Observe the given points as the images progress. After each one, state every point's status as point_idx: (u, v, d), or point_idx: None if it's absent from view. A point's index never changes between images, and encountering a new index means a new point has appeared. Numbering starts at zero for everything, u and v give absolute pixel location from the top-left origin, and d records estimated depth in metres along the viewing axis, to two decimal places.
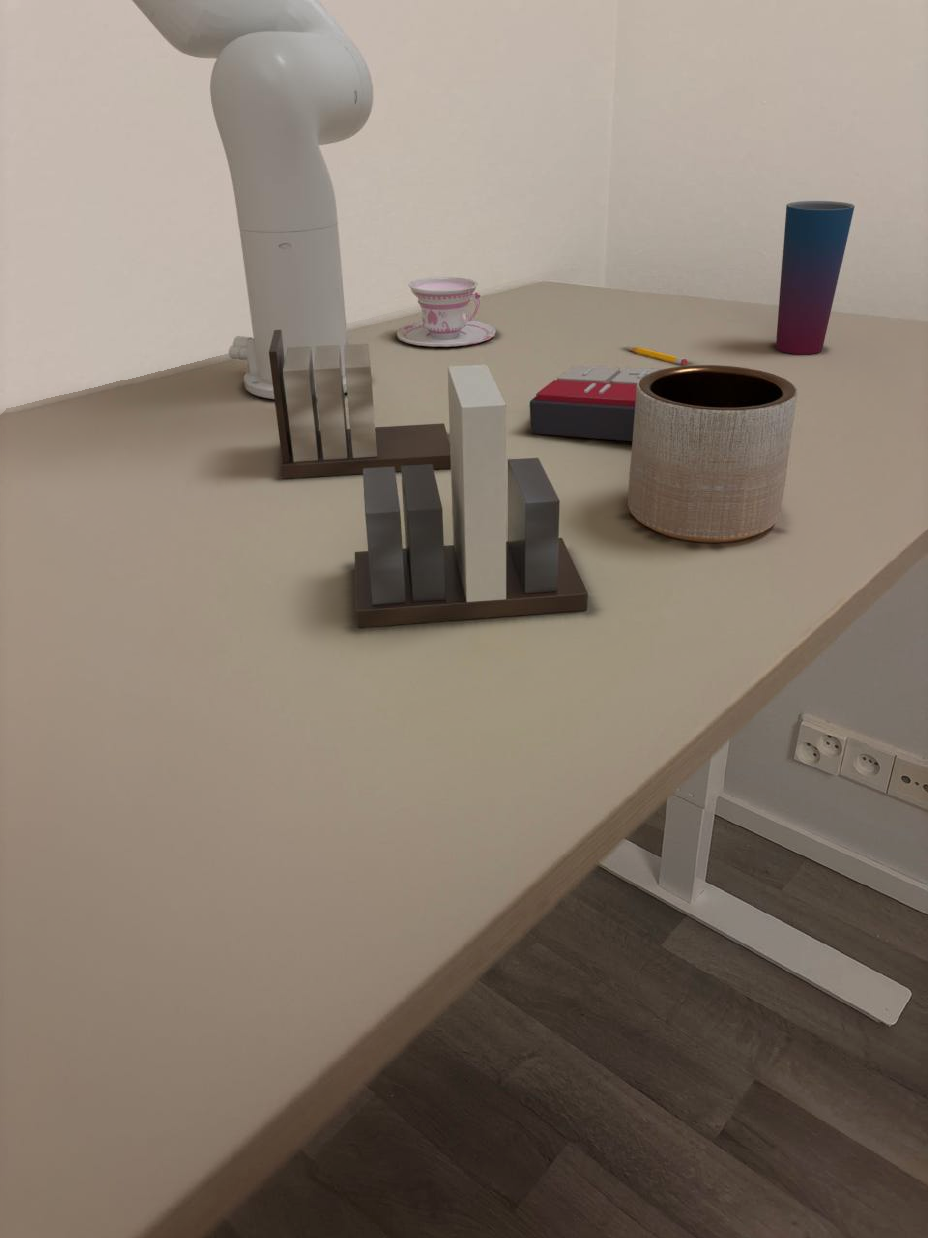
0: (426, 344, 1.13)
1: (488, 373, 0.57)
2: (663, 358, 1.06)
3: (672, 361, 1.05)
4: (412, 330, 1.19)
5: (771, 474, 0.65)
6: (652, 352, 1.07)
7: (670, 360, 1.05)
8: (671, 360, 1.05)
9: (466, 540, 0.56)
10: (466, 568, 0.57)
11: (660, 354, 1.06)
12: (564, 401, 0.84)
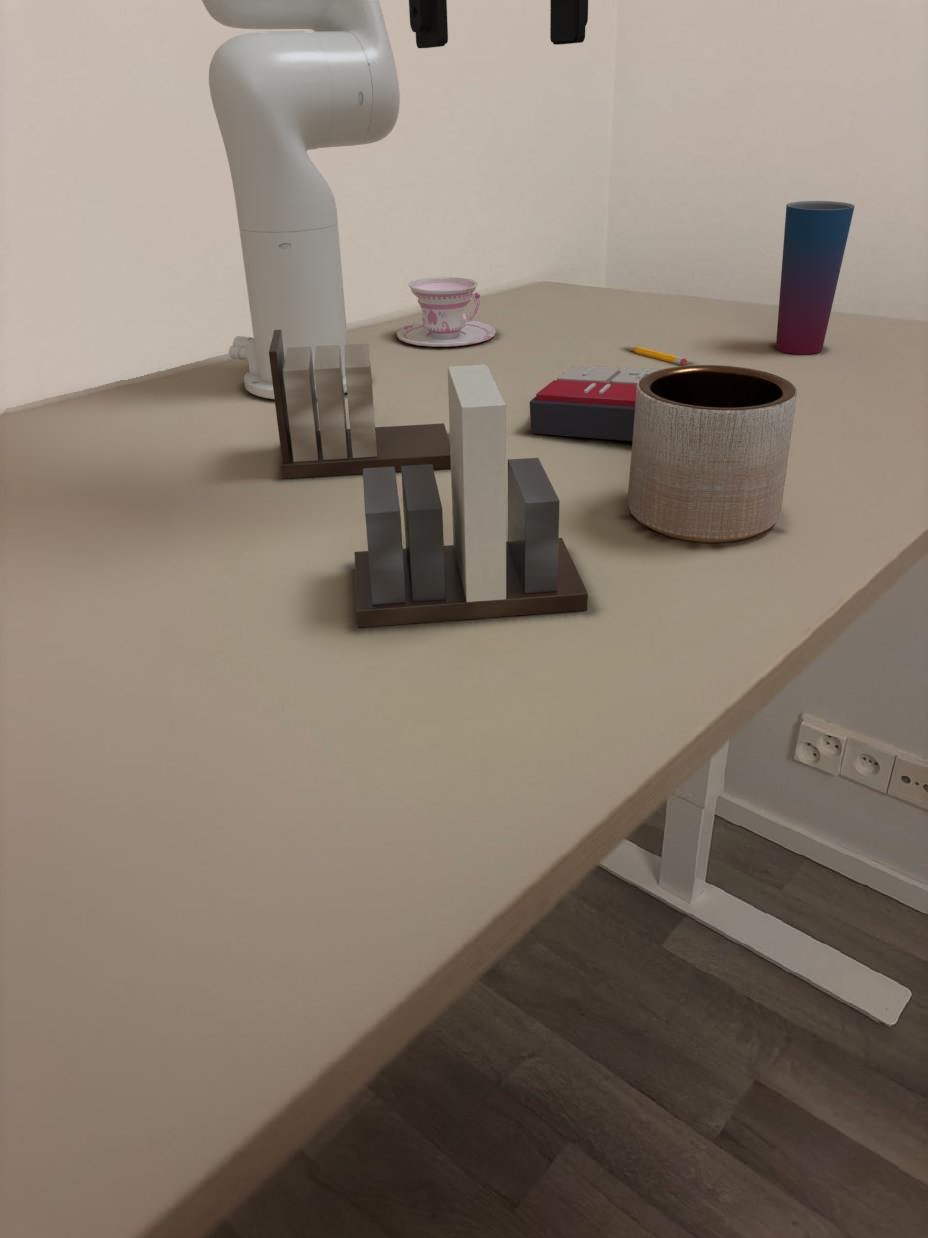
0: (426, 344, 1.13)
1: (488, 373, 0.57)
2: (663, 358, 1.06)
3: (672, 361, 1.05)
4: (412, 330, 1.19)
5: (771, 474, 0.65)
6: (652, 352, 1.07)
7: (670, 360, 1.05)
8: (671, 360, 1.05)
9: (466, 540, 0.56)
10: (466, 568, 0.57)
11: (660, 354, 1.06)
12: (564, 401, 0.84)
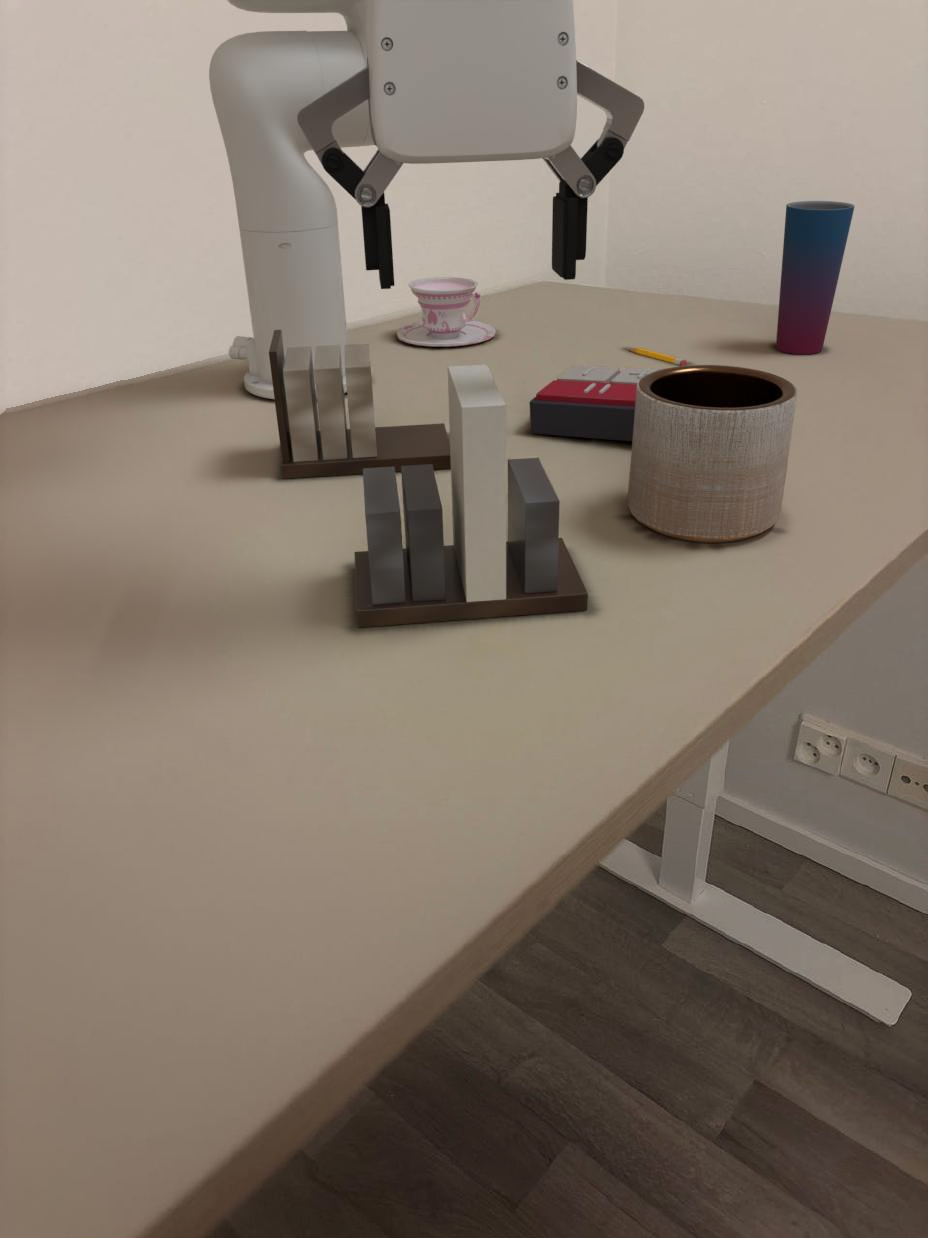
0: (426, 344, 1.13)
1: (488, 373, 0.57)
2: (662, 359, 1.06)
3: (671, 362, 1.05)
4: (412, 330, 1.19)
5: (771, 474, 0.65)
6: (652, 353, 1.07)
7: (669, 361, 1.05)
8: (670, 361, 1.05)
9: (466, 540, 0.56)
10: (466, 568, 0.57)
11: (659, 355, 1.06)
12: (564, 401, 0.84)
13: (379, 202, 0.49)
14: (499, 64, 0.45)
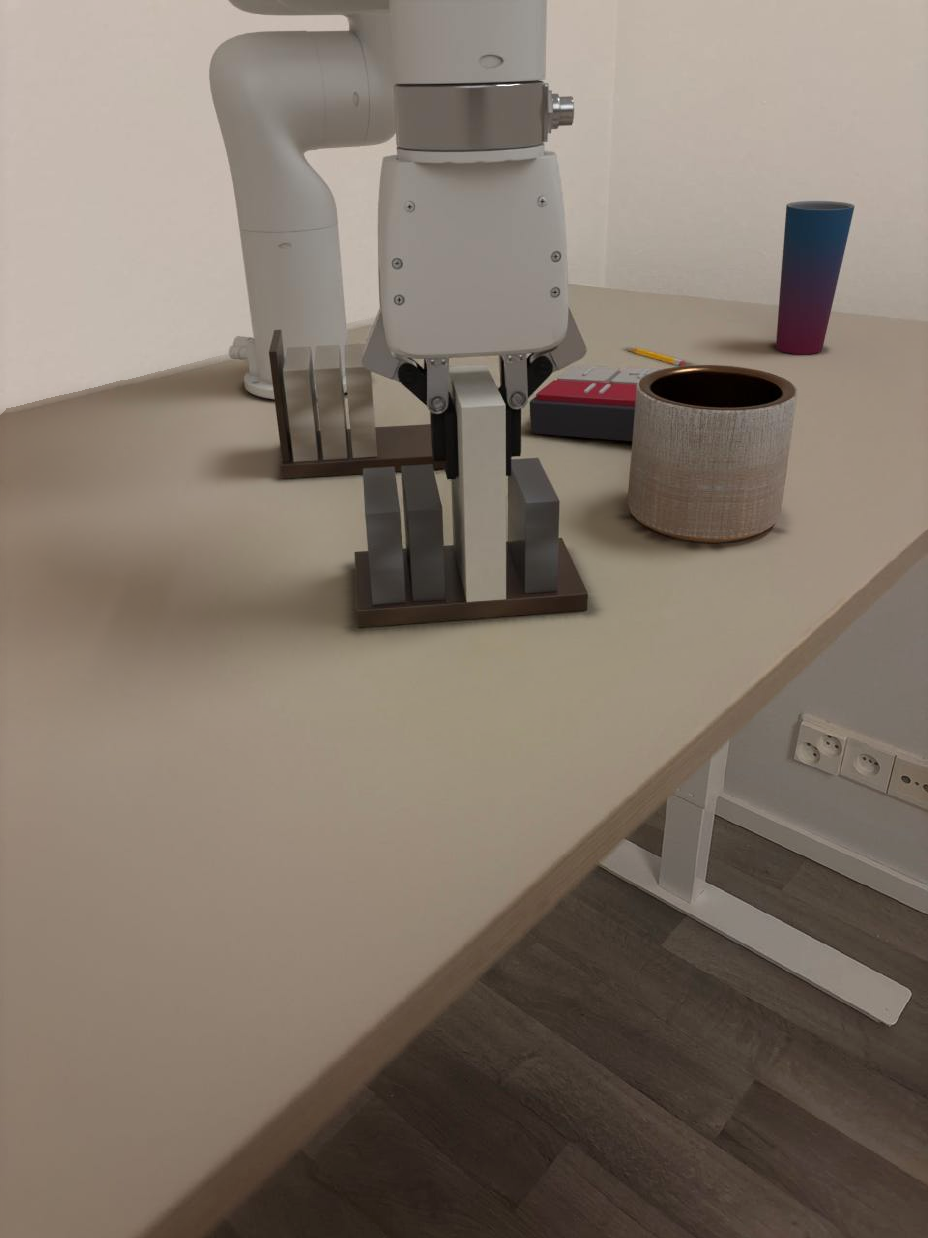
0: None
1: (488, 373, 0.57)
2: (662, 360, 1.06)
3: (670, 362, 1.05)
4: None
5: (771, 474, 0.65)
6: (651, 353, 1.07)
7: (668, 362, 1.05)
8: (669, 362, 1.05)
9: (466, 540, 0.56)
10: (466, 568, 0.57)
11: (659, 356, 1.06)
12: (564, 401, 0.84)
13: (448, 408, 0.55)
14: (498, 279, 0.50)
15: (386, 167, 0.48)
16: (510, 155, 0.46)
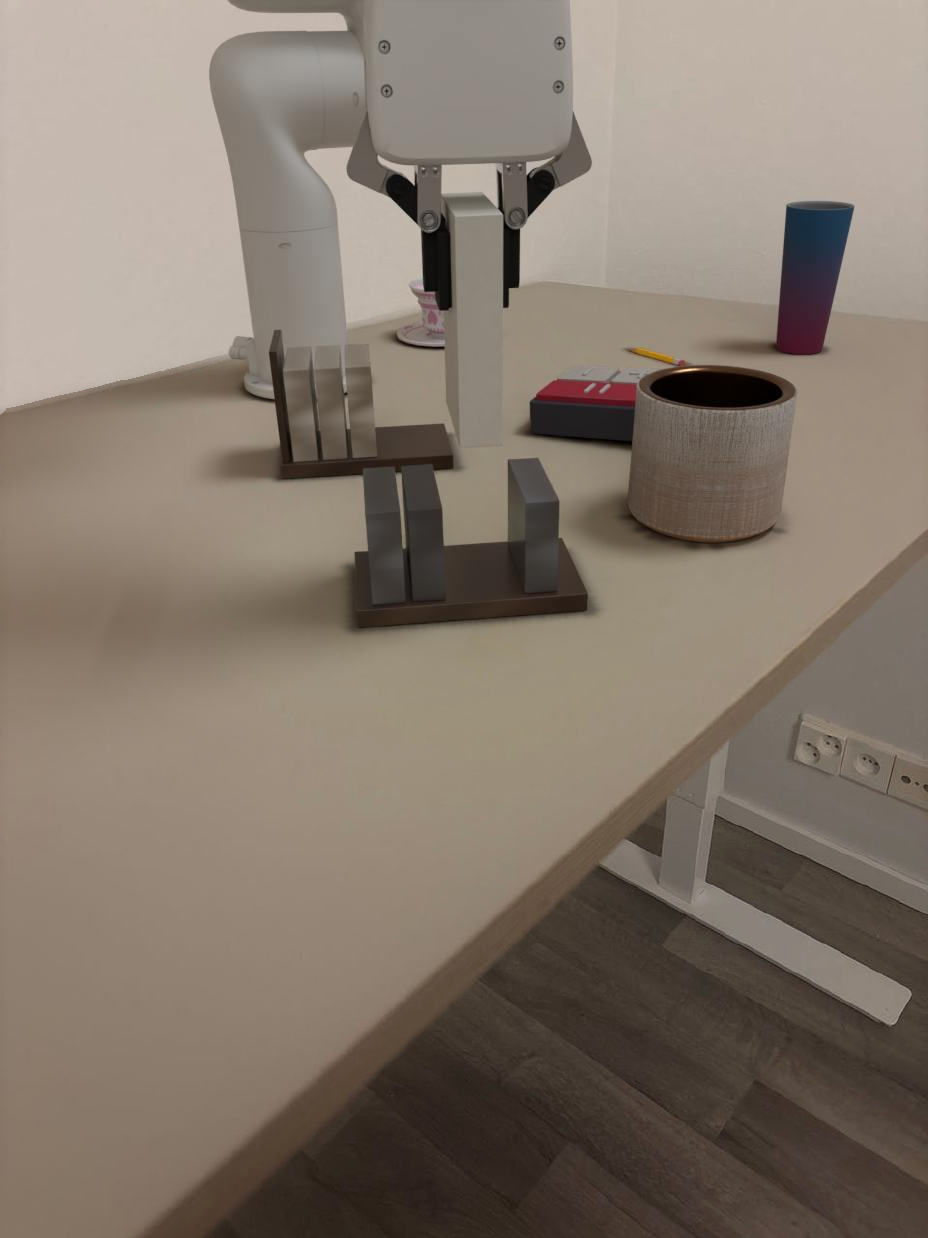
0: (426, 344, 1.13)
1: (484, 197, 0.52)
2: (662, 359, 1.06)
3: (670, 362, 1.05)
4: (412, 330, 1.19)
5: (771, 474, 0.65)
6: (651, 353, 1.07)
7: (668, 361, 1.05)
8: (669, 361, 1.05)
9: (460, 375, 0.51)
10: (459, 408, 0.52)
11: (659, 355, 1.06)
12: (564, 402, 0.84)
13: (440, 227, 0.50)
14: (495, 68, 0.46)
15: None
16: None
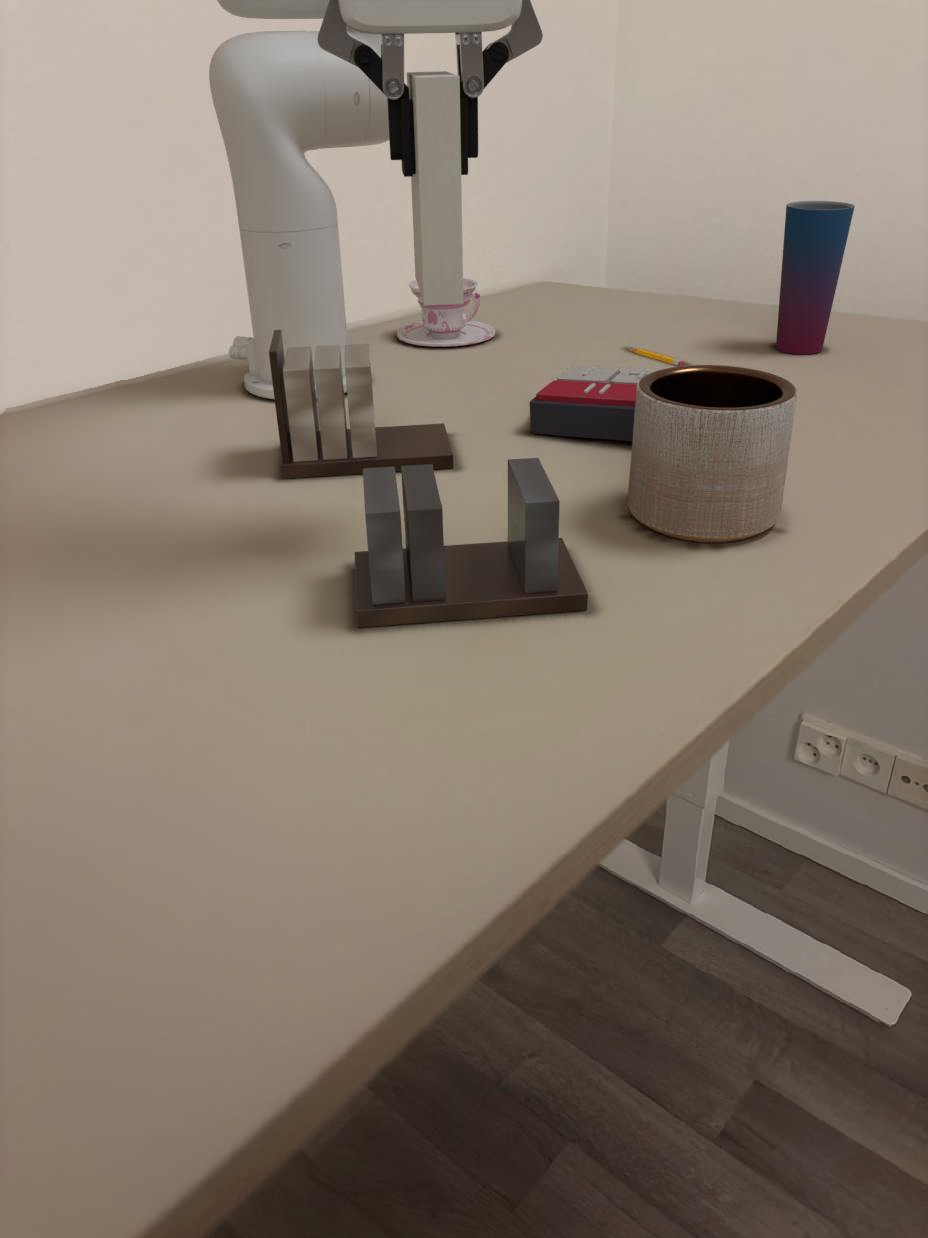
0: (426, 344, 1.13)
1: (446, 72, 0.57)
2: (661, 360, 1.06)
3: (670, 363, 1.05)
4: (412, 330, 1.19)
5: (771, 474, 0.65)
6: (651, 354, 1.07)
7: (668, 362, 1.05)
8: (669, 362, 1.05)
9: (422, 233, 0.56)
10: (423, 266, 0.57)
11: (658, 356, 1.06)
12: (564, 402, 0.84)
13: (404, 96, 0.55)
14: None
15: None
16: None
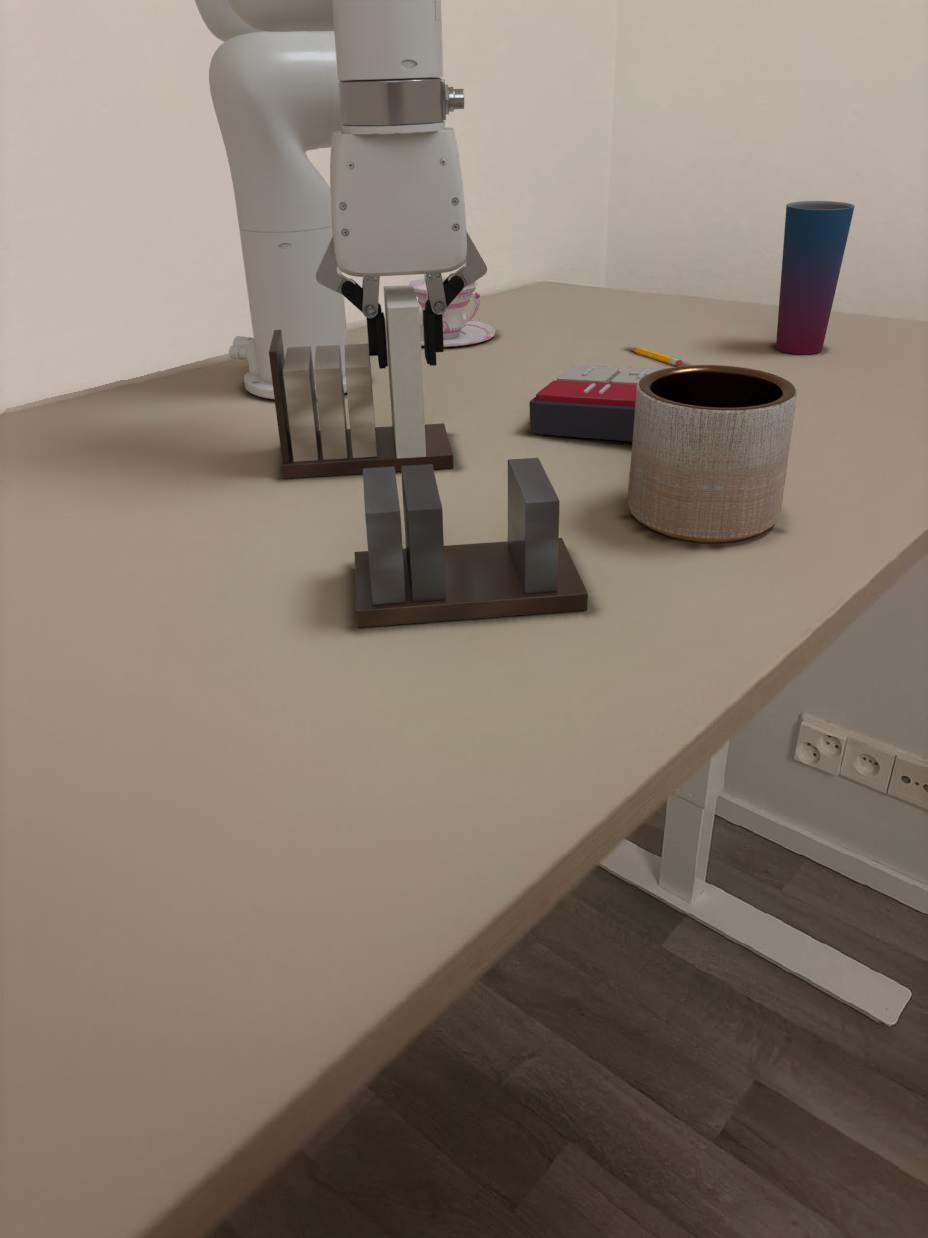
0: None
1: (412, 289, 0.78)
2: (660, 359, 1.06)
3: (668, 362, 1.05)
4: None
5: (771, 474, 0.65)
6: (650, 352, 1.07)
7: (666, 361, 1.05)
8: (667, 361, 1.05)
9: (395, 409, 0.77)
10: (395, 431, 0.78)
11: (657, 354, 1.06)
12: (564, 402, 0.84)
13: (378, 314, 0.76)
14: (414, 217, 0.71)
15: (334, 138, 0.70)
16: (418, 128, 0.68)
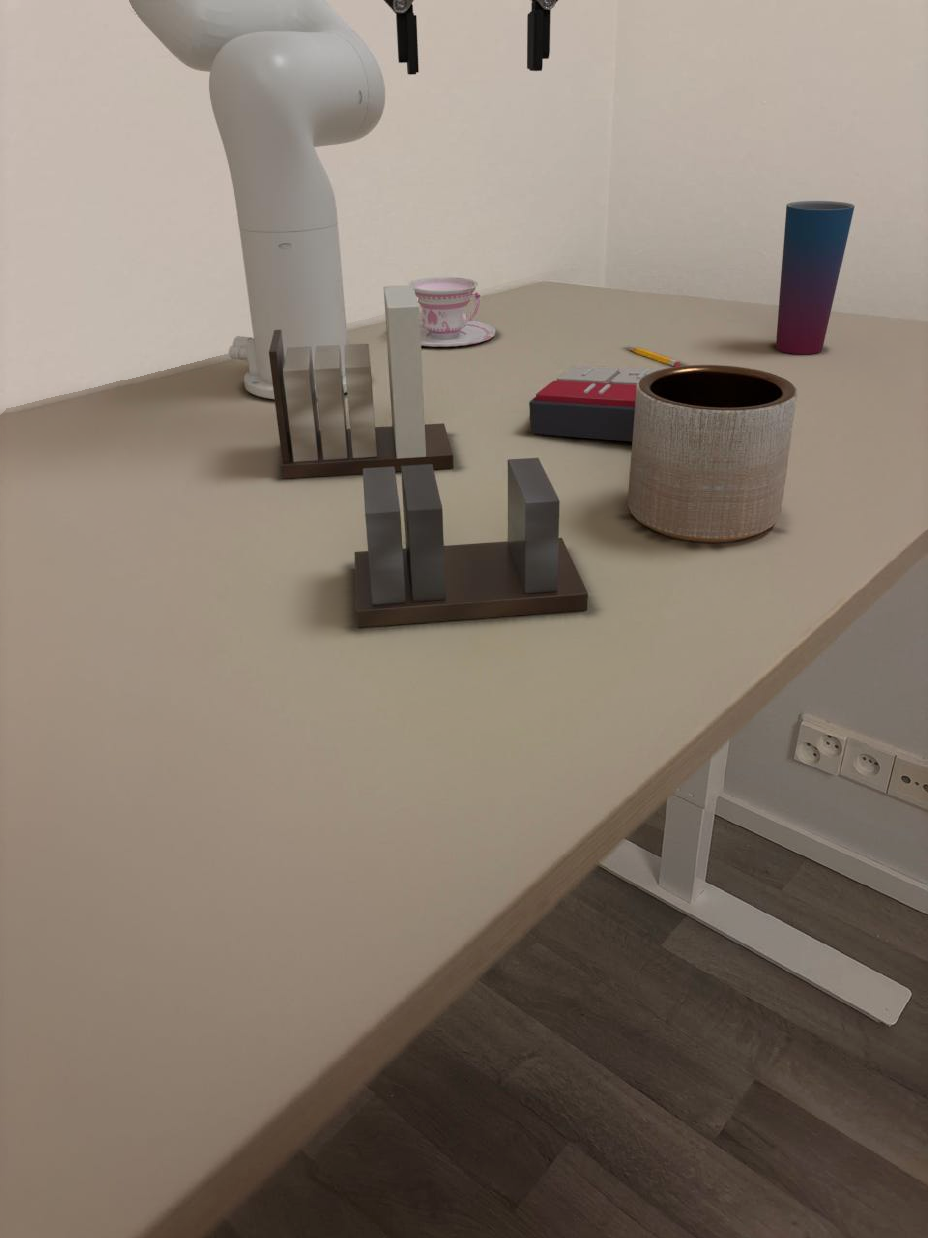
0: (426, 344, 1.13)
1: (412, 289, 0.78)
2: (658, 360, 1.06)
3: (666, 363, 1.05)
4: None
5: (771, 474, 0.65)
6: (649, 353, 1.07)
7: (664, 362, 1.05)
8: (665, 362, 1.05)
9: (395, 409, 0.77)
10: (395, 431, 0.78)
11: (656, 356, 1.06)
12: (564, 402, 0.84)
13: (409, 11, 0.73)
14: None
15: None
16: None
